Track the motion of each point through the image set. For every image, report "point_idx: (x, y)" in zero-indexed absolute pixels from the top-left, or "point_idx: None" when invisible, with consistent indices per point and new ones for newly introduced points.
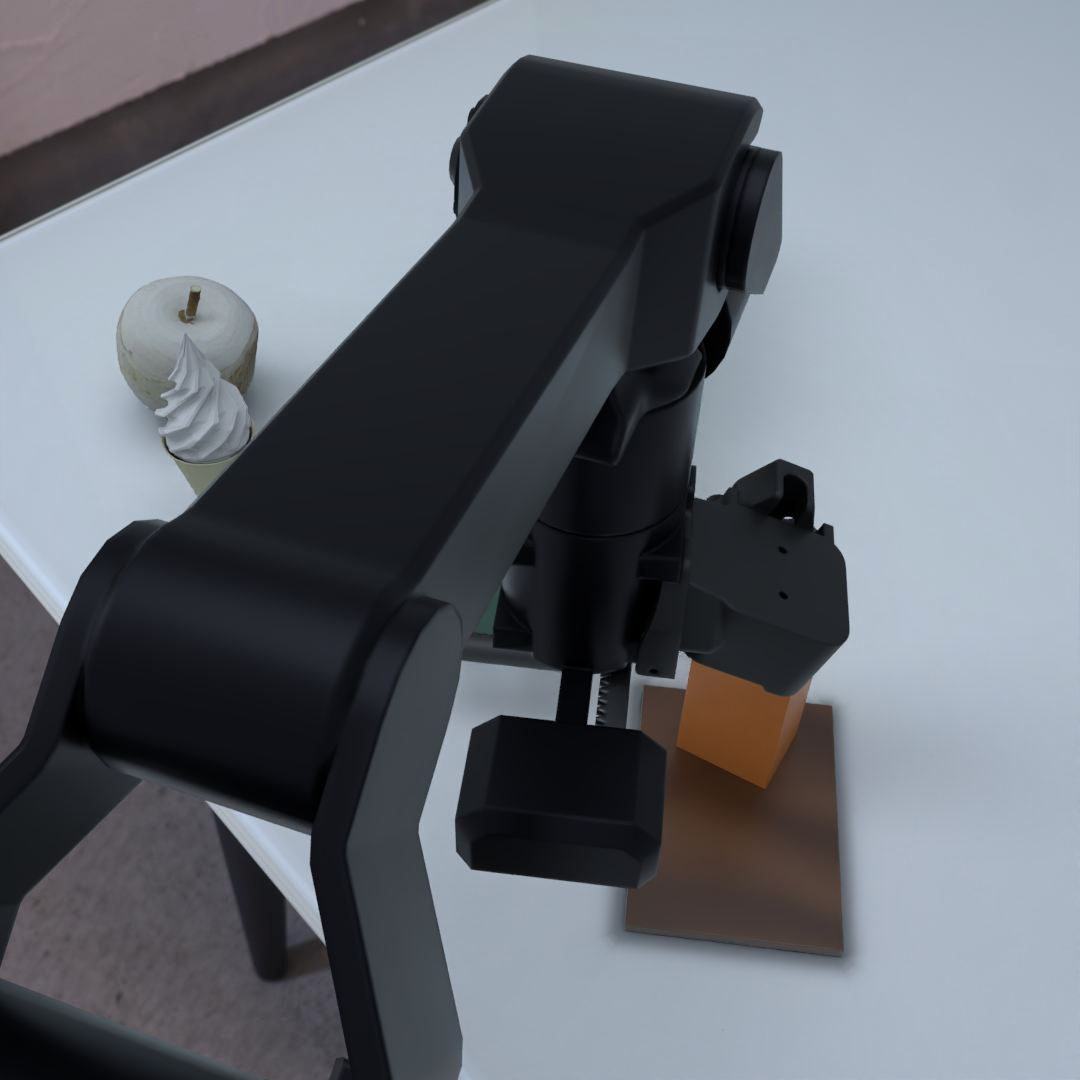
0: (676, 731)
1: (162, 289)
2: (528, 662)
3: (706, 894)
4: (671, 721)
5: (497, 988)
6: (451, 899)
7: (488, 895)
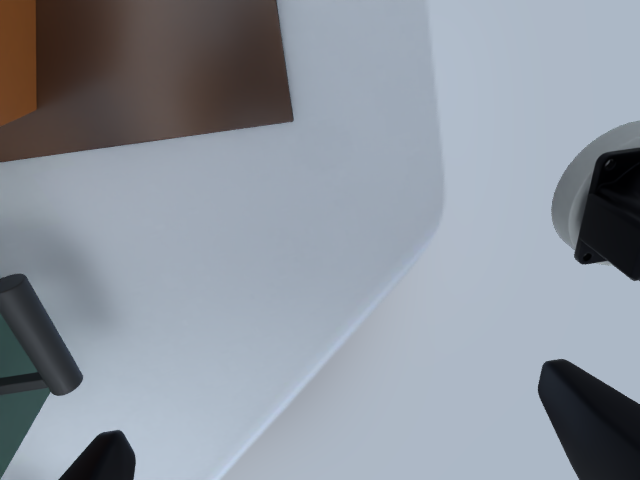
0: None
1: None
2: (42, 321)
3: (228, 34)
4: None
5: (375, 214)
6: (305, 269)
7: (292, 244)
